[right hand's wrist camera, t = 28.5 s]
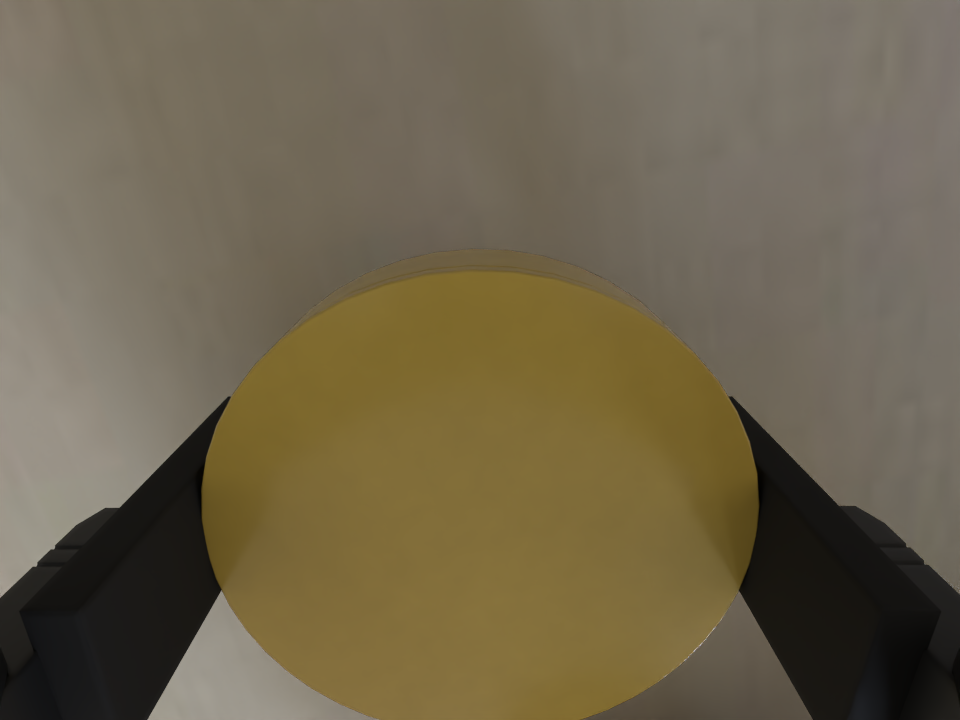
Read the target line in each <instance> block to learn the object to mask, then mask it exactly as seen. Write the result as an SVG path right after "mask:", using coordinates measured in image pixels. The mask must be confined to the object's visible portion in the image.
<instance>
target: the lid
mask: <svg viewBox="0 0 960 720" xmlns="http://www.w3.org/2000/svg"><path fill="white" fill-rule="evenodd" d="M201 506H202V524H203V529H204V534H205V540H206V545H207V550H208V554H209V558H210V562H211V565H212V568H213V571H214V574H215V577H216V579H217V581H218V584H219V586H220V588H221V590H222V592H223V594H224V596H225V598H226V600H227V602H228V604H229V605H230V607H231V608H232V610H233V611H234V613H235V614H236V616H237V617H238V619H239V620H240V622H241V623H242V625H243V626H244V628H245V629H246V630H247V631H248V633H249V634H250V635H251V636H252V637H253V638H254V639H255V640H256V642H257V643H258V644H259V645H260V646H261V647H262V648H263V650H264V651H265V652H266V653H267V654H269V655H270V656H271V657H272V658H273V659H274V660H275V661H276V662H278V663H279V664H280V665H281V666H282V667H283V668H284V669H285V670H287V671H288V672H289V673H290V674H292V675H293V676H295V677H296V678H298V679H299V680H300V681H302V682H303V683H305V684H306V685H307V686H309V687H310V688H312V689H313V690H315V691H317V692H319V693H321V694H322V695H324V696H326V697H328V698H330V699H331V700H333V701H335V702H337V703H339V704H341V705H343V706H346V707H348V708H350V709H353V710H355V711H357V712H360V713H362V714H364V715H367V716H370V717H373V718H376V719H379V720H582V719H584V718H587V717H590V716H593V715H595V714H598V713H601V712H604V711H606V710H608V709H611V708H613V707H615V706H617V705H619V704H621V703H623V702H625V701H627V700H629V699H631V698H633V697H635V696H637V695H638V694H640V693H641V692H643V691H645V690H646V689H648V688H650V687H651V686H653V685H654V684H656V683H658V682H659V681H661V680H662V679H663V678H664V677H666V676H667V675H668V674H669V673H671V672H672V671H673V670H675V669H676V668H677V667H678V666H680V665H681V664H682V663H683V662H684V661H685V660H686V659H687V658H688V657H689V656H690V655H691V654H692V653H693V652H694V651H695V650H696V649H698V648H699V647H700V646H701V645H702V644H703V643H704V642H705V640H706V639H707V638H708V636H709V635H710V634H711V633H712V631H713V630H714V629H715V627H716V626H717V625H718V624H719V622H720V621H721V620H722V619H723V617H724V615H725V614H726V612H727V610H728V608H729V607H730V605H731V603H732V602H733V600H734V598H735V597H736V595H737V593H738V591H739V589H740V586H741V584H742V581H743V579H744V577H745V574H746V572H747V569H748V567H749V564H750V560H751V556H752V551H753V547H754V542H755V537H756V532H757V526H758V515H759V493H758V478H757V470H756V466H755V462H754V458H753V453H752V449H751V445H750V441H749V439H748V436H747V434H746V431H745V429H744V427H743V424H742V422H741V419H740V417H739V415H738V412H737V410H736V408H735V407H734V405H733V404H732V402H731V400H730V399H729V397H728V395H727V394H726V392H725V391H724V389H723V387H722V386H721V384H720V382H719V381H718V380H717V379H716V377H715V376H714V375H713V374H712V373H711V372H710V370H709V369H708V368H707V367H706V366H705V365H704V363H703V362H702V361H701V360H700V359H699V358H698V356H697V355H696V354H695V353H694V352H693V351H692V350H691V349H690V348H689V347H688V346H687V345H686V344H685V343H684V342H683V341H682V340H681V339H680V338H679V337H678V336H677V335H676V334H675V333H674V332H673V331H672V330H671V329H670V328H669V327H668V326H667V325H666V324H665V323H664V322H663V321H662V320H661V319H660V318H658V317H657V316H656V315H655V314H654V313H653V312H652V311H650V310H649V309H648V308H647V307H646V306H645V305H643V304H642V303H641V302H640V301H639V300H638V299H636V298H635V297H633V296H631V295H630V294H628V293H627V292H625V291H624V290H622V289H621V288H619V287H618V286H616V285H614V284H613V283H611V282H610V281H608V280H606V279H603V278H601V277H599V276H597V275H595V274H593V273H591V272H588V271H586V270H584V269H582V268H580V267H578V266H574V265H571V264H568V263H565V262H561V261H558V260H555V259H552V258H548V257H545V256H540V255H534V254H528V253H522V252H517V251H511V250H492V249H464V250H454V251H444V252H434V253H430V254H426V255H422V256H417V257H413V258H409V259H404V260H400V261H397V262H395V263H392V264H390V265H387V266H384V267H382V268H379V269H376V270H374V271H371V272H368V273H366V274H364V275H363V276H361V277H359V278H357V279H355V280H353V281H352V282H350V283H348V284H346V285H344V286H342V287H341V288H339V289H337V290H336V291H334V292H333V293H332V294H330V295H329V296H327V297H326V298H325V299H323V300H322V301H321V302H319V303H318V304H317V305H315V306H314V307H313V308H311V309H310V310H309V311H308V312H307V313H306V314H305V315H304V316H303V317H302V318H301V319H300V320H299V321H298V322H297V323H296V324H295V325H294V326H293V327H292V328H291V329H290V330H289V331H288V332H287V333H286V334H285V335H284V336H283V337H282V338H281V339H280V340H279V341H278V342H277V343H276V344H275V345H274V346H273V347H272V348H271V349H270V350H269V351H268V352H267V353H266V354H265V355H264V356H263V357H262V358H261V359H260V360H259V361H258V362H257V363H256V364H255V365H254V366H253V367H252V369H251V370H250V371H249V373H248V374H247V375H246V377H245V378H244V380H243V381H242V382H241V384H240V385H239V386H238V388H237V389H236V390H235V392H234V393H233V395H232V396H231V398H230V400H229V402H228V404H227V406H226V408H225V410H224V412H223V414H222V416H221V418H220V420H219V421H218V423H217V425H216V428H215V431H214V434H213V438H212V441H211V444H210V447H209V450H208V453H207V456H206V462H205V468H204V475H203V481H202V487H201Z"/></svg>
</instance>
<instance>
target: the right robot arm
mask: <svg viewBox="0 0 960 720" xmlns="http://www.w3.org/2000/svg"><path fill="white" fill-rule="evenodd" d="M230 398H231V397H227V398H226V399H225V400H224V401H223V403H222V404H221V405H220V406H219V407H218V408H217V409H216V410H215V411H214V412H213V413H212V414H211V415H210V416H209V417H208V418H207V419H206V420H205V421H204V422H203V423H202V424H201V425H200V426H199V427H198V428H197V429H196V430H195V431H194V432H193V433H192V434H191V435H190V436H189V437H188V438H187V439H186V440H185V441H184V442H183V444H182V445H181V446H180V447H179V448H178V449H177V450H176V451H175V452H174V453H173V454H172V455H171V456H170V457H169V458H168V459H167V460H166V461H165V462H164V463H163V464H162V465H161V466H160V467H159V468H158V469H157V470H156V471H155V472H154V473H153V474H152V475H151V476H150V477H149V478H148V479H147V480H146V481H145V482H144V483H143V484H142V486H141V487H140V488H139V489H138V490H137V491H136V492H135V493H134V494H133V495H132V496H131V497H130V498H129V499H128V500H127V501H126V502H125V503H124V504H123V505H122V506H121V507H120V508H105V509H103V510H101V511H99V512H98V513H96V514H94V515H93V516H91V517H89V518H88V519H86V520H84V521H83V522H81V523H79V524H78V525H76V526H75V527H74V528H73V529H72V530H71V531H70V532H69V533H68V534H67V535H66V536H65V537H64V538H62V539H61V540H60V541H59V542H58V543H57V544H56V545H55V549H54V550H50V551H49V552H48V553H47V554H46V555H45V556H44V557H43V558H42V559H41V560H40V561H38V562H37V563H38V564H37V567H32V568H31V569H30V570H29V571H28V572H27V573H26V574H25V575H24V576H23V577H22V578H21V579H20V580H19V581H18V582H17V583H15V584H14V585H13V586H12V587H11V588H10V589H9V590H8V591H7V592H6V593H5V594H4V595H3V596H2V597H1V598H0V720H147V719H148V717H149V716H150V714H151V712H152V710H153V709H154V707H155V705H156V704H157V702H158V700H159V698H160V697H161V695H162V693H163V691H164V690H165V688H166V686H167V684H168V683H169V681H170V679H171V677H172V676H173V674H174V672H175V670H176V669H177V667H178V665H179V663H180V662H181V660H182V658H183V656H184V655H185V653H186V651H187V649H188V648H189V646H190V644H191V642H192V641H193V639H194V637H195V635H196V634H197V632H198V630H199V628H200V627H201V625H202V623H203V621H204V620H205V618H206V616H207V614H208V613H209V611H210V609H211V607H212V606H213V604H214V602H215V600H216V599H217V597H218V595H219V593H220V592H221V588H220V586H219V584H218V581H217V579H216V577H215V574H214V571H213V568H212V565H211V562H210V558H209V554H208V550H207V545H206V540H205V534H204V529H203V524H202V506H201V487H202V481H203V475H204V468H205V462H206V456H207V453H208V450H209V447H210V444H211V441H212V438H213V434H214V431H215V428H216V425H217V423H218V421H219V420H220V418H221V416H222V414H223V412H224V410H225V408H226V406H227V404H228V402H229V400H230ZM729 399H730V400H731V402H732V404H733V405H734V407H735V408H736V410H737V412H738V415H739V417H740V419H741V422H742V424H743V427H744V429H745V431H746V434H747V436H748V439H749V441H750V445H751V449H752V453H753V458H754V462H755V466H756V470H757V478H758V493H759V515H758V526H757V532H756V537H755V542H754V547H753V551H752V556H751V560H750V564H749V567H748V569H747V572H746V574H745V577H744V579H743V581H742V584H741V586H740V589H739V591H740V593H741V595H742V596H743V598H744V600H745V602H746V603H747V605H748V607H749V609H750V610H751V612H752V614H753V616H754V617H755V619H756V621H757V623H758V624H759V626H760V628H761V630H762V631H763V633H764V635H765V637H766V638H767V640H768V642H769V643H770V645H771V647H772V649H773V650H774V652H775V654H776V656H777V657H778V659H779V661H780V663H781V664H782V666H783V668H784V670H785V671H786V673H787V675H788V677H789V678H790V680H791V682H792V684H793V685H794V687H795V689H796V691H797V692H798V694H799V696H800V698H801V699H802V701H803V703H804V705H805V706H806V708H807V710H808V712H809V713H810V715H811V717H812V719H813V720H960V595H959V594H958V593H957V592H956V591H955V590H954V589H953V588H952V587H951V586H950V585H949V584H948V583H947V582H946V581H945V580H944V579H943V578H942V577H941V576H939V575H938V574H937V573H936V572H935V571H934V570H933V569H932V568H931V567H930V566H929V565H925V564H924V560H923V559H922V558H921V557H920V556H918V555H917V554H916V553H915V552H914V551H913V550H912V549H911V548H907V547H906V543H905V542H904V541H903V540H902V539H901V538H900V537H899V536H897V535H896V534H895V533H894V532H893V531H892V530H891V529H890V528H889V527H888V526H887V525H886V524H885V523H883V522H882V521H880V520H878V519H876V518H875V517H873V516H871V515H870V514H868V513H866V512H865V511H863V510H861V509H859V508H858V507H856V506H838V505H837V504H836V503H835V501H834V500H833V499H832V498H831V497H830V496H829V495H828V494H827V493H826V492H825V491H824V490H823V489H822V488H821V487H820V486H819V485H818V484H817V483H816V482H815V481H814V480H813V479H812V478H811V477H810V476H809V475H808V474H807V473H806V472H805V471H804V470H803V469H802V468H801V467H800V466H799V465H798V464H797V463H796V462H795V461H794V459H793V458H792V457H791V456H790V455H789V454H788V453H787V452H786V451H785V450H784V449H783V448H782V447H781V446H780V445H779V444H778V443H777V442H776V441H775V440H774V439H773V438H772V437H771V436H770V435H769V434H768V433H767V432H766V431H765V430H764V429H763V428H762V427H761V426H760V425H759V424H758V423H757V422H756V421H755V420H754V419H753V417H752V416H751V415H750V414H749V413H748V412H747V411H746V410H745V409H744V408H743V407H742V406H741V405H740V404H739V403H738V402H737V401H736V400H735V399H734V398H733V397H729Z"/></svg>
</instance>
